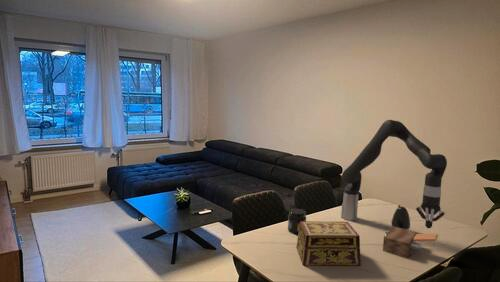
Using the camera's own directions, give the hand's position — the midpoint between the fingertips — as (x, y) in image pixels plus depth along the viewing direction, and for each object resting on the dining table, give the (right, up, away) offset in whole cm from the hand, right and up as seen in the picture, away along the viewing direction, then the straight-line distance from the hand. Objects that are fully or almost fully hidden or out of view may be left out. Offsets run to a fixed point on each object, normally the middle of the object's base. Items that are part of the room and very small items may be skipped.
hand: (428, 227), depth 159 cm
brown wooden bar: (-9, -13, +9) cm, 18 cm away
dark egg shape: (+1, -11, +31) cm, 33 cm away
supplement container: (-62, -10, +29) cm, 69 cm away
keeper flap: (-5, -6, +5) cm, 10 cm away
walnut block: (-10, -13, +10) cm, 19 cm away
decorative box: (-51, -14, -1) cm, 53 cm away
